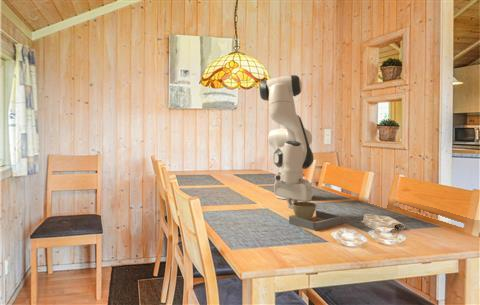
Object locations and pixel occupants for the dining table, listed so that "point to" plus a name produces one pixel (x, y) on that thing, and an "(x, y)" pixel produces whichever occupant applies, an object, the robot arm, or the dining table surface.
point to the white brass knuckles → (381, 222)
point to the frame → (327, 222)
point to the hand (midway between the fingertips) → (292, 208)
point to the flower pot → (304, 210)
